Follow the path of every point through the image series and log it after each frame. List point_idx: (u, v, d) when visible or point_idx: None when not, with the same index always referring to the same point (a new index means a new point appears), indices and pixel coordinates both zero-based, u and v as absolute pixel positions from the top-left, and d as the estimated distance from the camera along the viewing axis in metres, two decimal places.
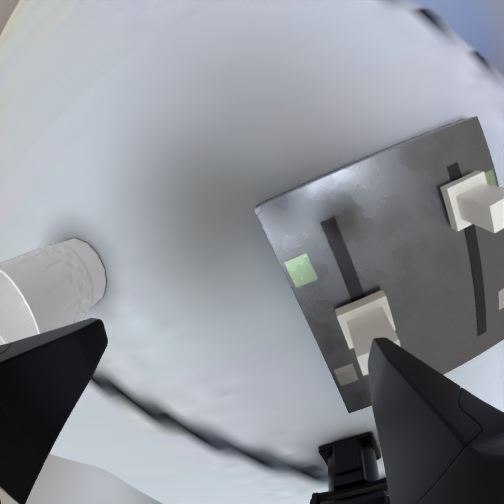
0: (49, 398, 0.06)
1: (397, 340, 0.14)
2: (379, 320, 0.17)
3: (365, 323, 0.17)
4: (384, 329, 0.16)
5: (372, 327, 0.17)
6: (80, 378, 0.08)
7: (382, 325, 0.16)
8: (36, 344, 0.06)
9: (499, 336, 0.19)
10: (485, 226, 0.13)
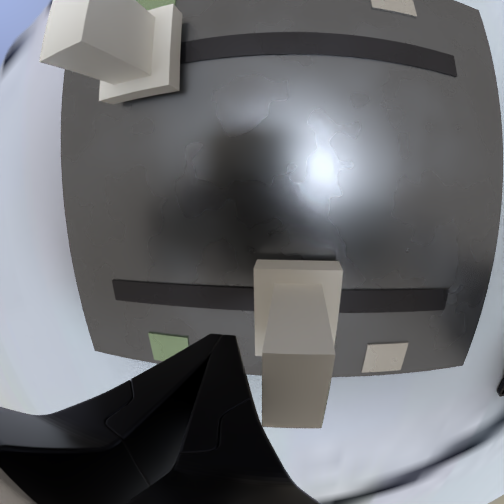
0: None
1: (264, 355, 0.06)
2: None
3: None
4: None
5: None
6: None
7: None
8: (173, 379, 0.06)
9: (476, 34, 0.07)
10: (95, 52, 0.05)
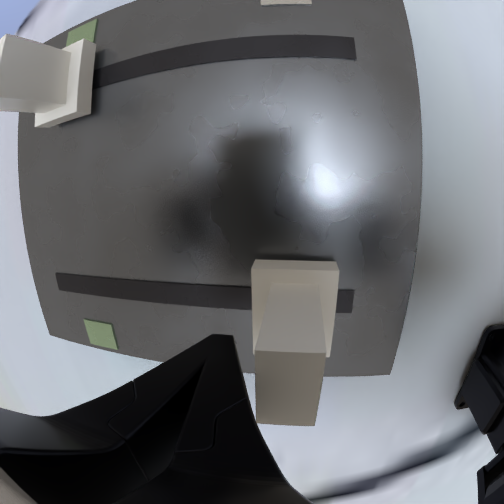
0: None
1: (256, 352, 0.06)
2: None
3: None
4: None
5: None
6: None
7: None
8: (176, 380, 0.06)
9: (390, 11, 0.08)
10: (10, 100, 0.06)
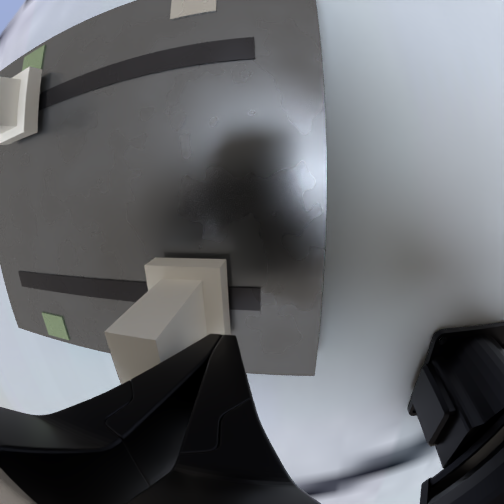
0: None
1: (107, 334, 0.07)
2: None
3: None
4: None
5: None
6: None
7: None
8: (173, 379, 0.06)
9: (297, 3, 0.08)
10: None
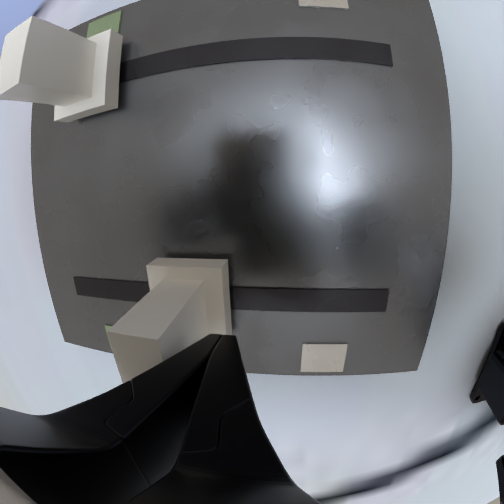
0: None
1: (109, 334, 0.07)
2: None
3: None
4: None
5: None
6: None
7: None
8: (173, 379, 0.06)
9: (420, 20, 0.08)
10: (34, 88, 0.06)
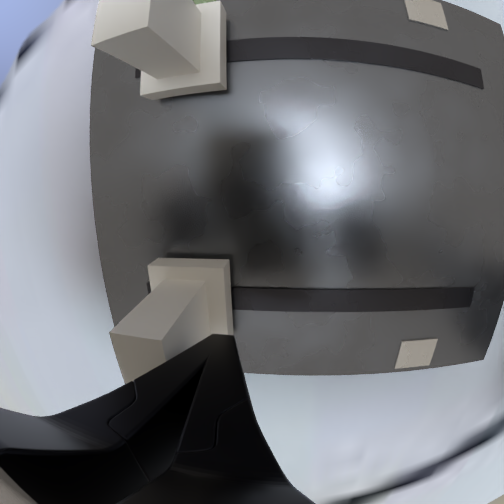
0: None
1: (111, 334, 0.07)
2: None
3: None
4: None
5: None
6: None
7: None
8: (176, 380, 0.06)
9: (498, 48, 0.07)
10: (156, 41, 0.06)
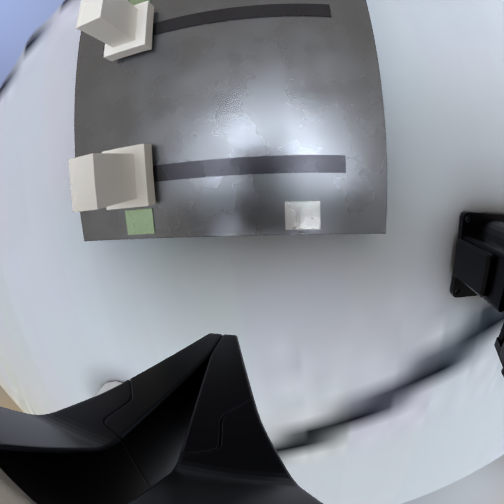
0: (184, 442, 0.06)
1: (69, 161, 0.11)
2: None
3: None
4: None
5: None
6: None
7: None
8: (172, 379, 0.06)
9: None
10: (105, 24, 0.10)
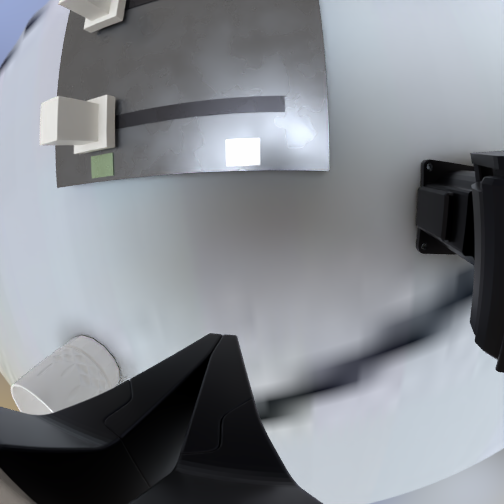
0: (184, 442, 0.06)
1: (41, 104, 0.12)
2: None
3: None
4: None
5: None
6: None
7: None
8: (172, 379, 0.06)
9: None
10: (82, 0, 0.10)
